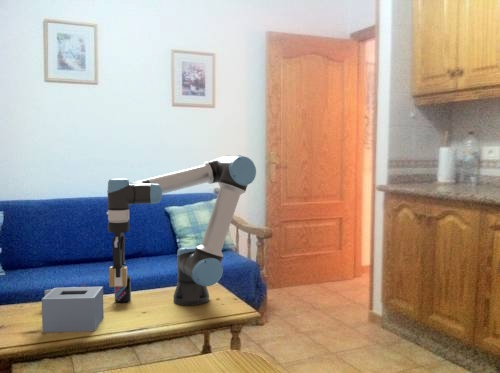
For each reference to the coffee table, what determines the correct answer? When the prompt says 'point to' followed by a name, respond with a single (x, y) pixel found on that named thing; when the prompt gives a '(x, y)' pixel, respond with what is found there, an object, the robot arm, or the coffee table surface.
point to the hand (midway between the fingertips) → (119, 284)
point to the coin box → (72, 309)
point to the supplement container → (123, 292)
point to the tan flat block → (112, 279)
